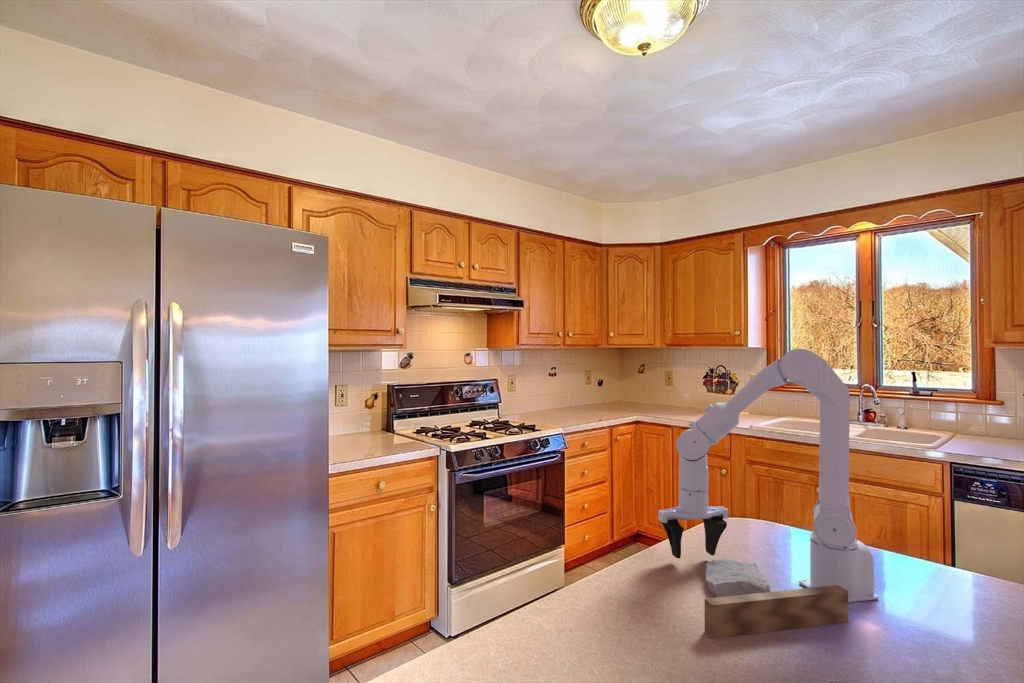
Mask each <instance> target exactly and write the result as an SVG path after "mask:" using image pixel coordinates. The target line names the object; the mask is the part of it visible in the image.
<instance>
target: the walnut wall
mask: <svg viewBox="0 0 1024 683" xmlns="http://www.w3.org/2000/svg"><path fill="white" fill-rule="evenodd" d="M846 623H849V602H848V591H847V590H846V589H844V588H842V587H840V586H838V585H833V586H823V587H814V588H806V587H803V588H796V589H787V590H777V591H776V590H775V591H770V592H765V593H755V594H745V595H736V596H726V597H709V598H708V597H706V598H704V633H706V634H707V635H708V636H709V637H710V638H711V639H713V640H715V639H721V638H723V639H724V638H727V637H728V638H730V637H738V636H747V635H755V634H764V633H772V632H780V631H781V632H782V631H788V630H789V631H790V630H798V629H806V628H814V627H823V626H829V625H838V624H846Z"/></svg>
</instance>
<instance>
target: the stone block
mask: <svg viewBox="0 0 1024 683" xmlns="http://www.w3.org/2000/svg"><path fill="white" fill-rule="evenodd" d="M705 581H706V583H707V586H708V590H709V592H710V593H711V594H712V595H713V596H714V598H716V597H726V596H736V595H745V594H755V593H765V592H771V586H770V585H771V584H770V583H769V581H768V579H767V577H766V576H765V575H764V574H762V573H761V572H760V570H759V567H758V564H757V562H747V561H743V560H738V559H733V558H731V559H730V558H721V559H720V558H719V559H713V560H711V561H708V562H706V563H705Z"/></svg>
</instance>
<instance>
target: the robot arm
mask: <svg viewBox="0 0 1024 683" xmlns="http://www.w3.org/2000/svg"><path fill="white" fill-rule="evenodd" d="M787 380H788V381H790V382H792V383H793V384H796V385H798V386H800V387H803V388H805V389H806V390H807V391H808V392H809V393H810V394H812V396H814V397H815V398H816V399H818V400H819V452H818V453H819V456H818V458H819V462H818V463H819V464H818V469H819V472H818V474H819V475H818V482H819V485H818V499H817V501H816V502H815V504H814V505H813V508H812V516H813V525H812V526H813V527H812V528H813V532H811V533H810V536H809V537H810V538H809V540H810V544H809V545H810V546H809V547H810V549H809V550H810V551H809V554H810V555H809V556H810V558H809V559H810V561H809V562H810V564H809V566H810V567H809V568H810V573H809V574H810V578H808V579H799V580H798V584H800V585H802V586H803V587H804V588H814V587H823V586H833V585H838V586H840V587H842V588H844V589H846V590H847V591H848V603H854V602H861V601H863V602H864V601H870V600H871V601H873V600H878V599H879V595H878V594H876V593H875V560H874V557H873V554H872V551H871V550H870V548H869V547H868V546H867V545H866V544H865V543H863V542H862V541H860V540H858V539H857V535H858V534H857V533H858V531H857V526H856V524H855V523H854V519H853V513H852V511H851V504H850V503H851V502H850V500H851V499H850V406H851V405H850V404H851V403H850V401H851V400H850V399H851V398H850V396H851V395H850V390H849V388H848V387H847V385H846V384H845V383H844V381H843V380H842V379H841V378H840V376H838V374H837V373H836V371H834V369H833V368H832V367H831V365H830V364H829V363H828V362H827V360H825V359H824V358H823V357H821V356H819V355H818V354H816V352H814V351H813V350H810V349H807V348H802V347H801V348H799V347H798V348H793V349H790V350H789V351H787V352H786V353H785V354H784V355H783V356H782V357H780V358H777V359H775V361H773V362H771V363H770V364H769V365H766V366H765V367H764V368H762V369H761V370H759V371H758V373H757V374H755V376H754V377H752V379H750V380H749V381H748V382H747V383H746V384H745V385H744V386H743V387H742V388H741V389H740V390H738V391H737V393H736V394H734V395H733V396H732V397H731V398H730V399H729V400H728V401H727V402H715V403H714V404H709V405H707V406H706V407H705V411H706V412H704V413H703V414H702V415H701V416H700V417H699V418H698V419H697V420H696V421H691V422H690V423H689V424H688V426H689V427H690V428H689V429H687V430H684V431H681V433H680V435H679V436H678V437H677V439H676V443H675V446H676V447H675V448H676V450H677V452H678V454H679V455H678V462H679V463H678V506H675V507H670V508H666V509H658V512H657V513H658V514H657V515H658V518H657V519H658V520H659V521H660V523H661V525H662V527H663V529H664V532H665V534H666V536H667V539H668V542H669V546H670V551H671V555H672V556H673V557H675V558H676V559H681V555H682V539H683V538H682V537H683V533H684V527H683V526H681V524H680V522H679V521H690V520H691V521H692V520H694V521H695V520H702V521H703V526H704V535H705V536H704V538H705V539H704V540H705V543H704V544H705V545H704V546H705V552H706V553H707V554H709V555H710V556H716V555H715V554H716V551H717V548H718V543H719V541H720V539H721V537H722V534H723V533H724V532H725V529H727V526H728V523H727V521H726V519H727V520H728V519H729V508H726V507H725V506H722V505H721V506H718V505H717V506H716V505H715V506H714V505H713V506H712V505H711V506H710V505H709V466H708V454H707V453H708V452H709V451H710V449H711V446H713V445H717V444H718V443H719V442H720V441H721V440H722V439H723V438H724V437H726V436H727V435H728V434H730V433H731V432H732V431H733V430H734V429H735V428H736V427H737V426H739V424H740V418H739V416H740V414H741V413H742V412H743V411H744V410H746V409H747V408H749V406H751V404H753V403H754V402H755V401H756V400H758V399H759V398H760V397H761V396H763V394H765V393H767V391H768V390H770V389H772V388H777V387H781V386H785V385H787V383H788V381H787Z"/></svg>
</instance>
